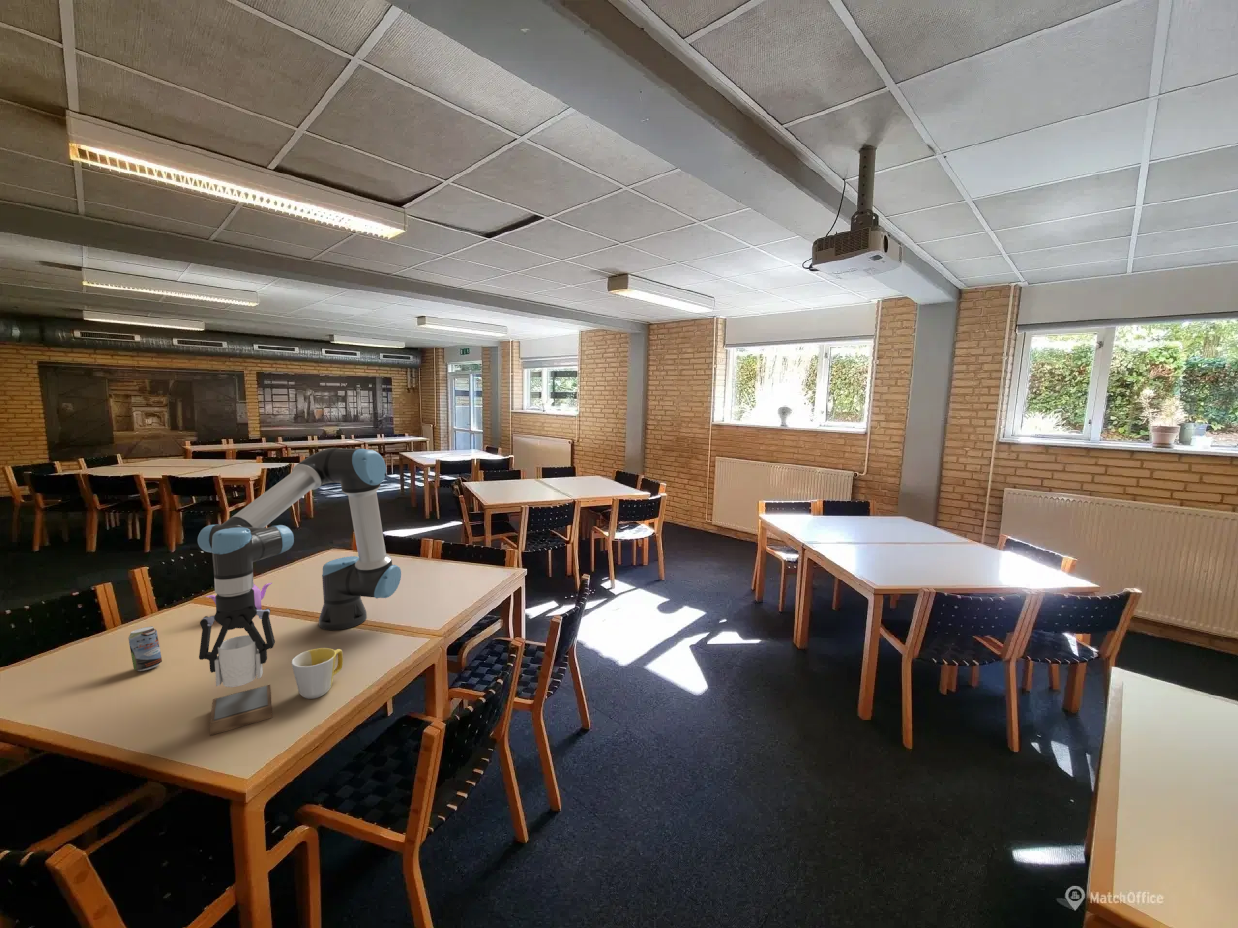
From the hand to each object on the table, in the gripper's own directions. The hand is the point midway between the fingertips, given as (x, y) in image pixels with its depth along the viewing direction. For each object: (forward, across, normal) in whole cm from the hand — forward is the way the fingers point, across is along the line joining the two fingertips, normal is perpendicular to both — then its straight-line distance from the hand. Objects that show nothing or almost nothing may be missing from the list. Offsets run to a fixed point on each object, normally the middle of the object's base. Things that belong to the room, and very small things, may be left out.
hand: (240, 679), depth 123 cm
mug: (+10, -17, -4) cm, 20 cm away
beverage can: (+9, +30, -38) cm, 49 cm away
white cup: (+1, 0, 0) cm, 1 cm away
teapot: (+9, +14, -73) cm, 75 cm away
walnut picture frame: (+9, 0, 0) cm, 9 cm away
